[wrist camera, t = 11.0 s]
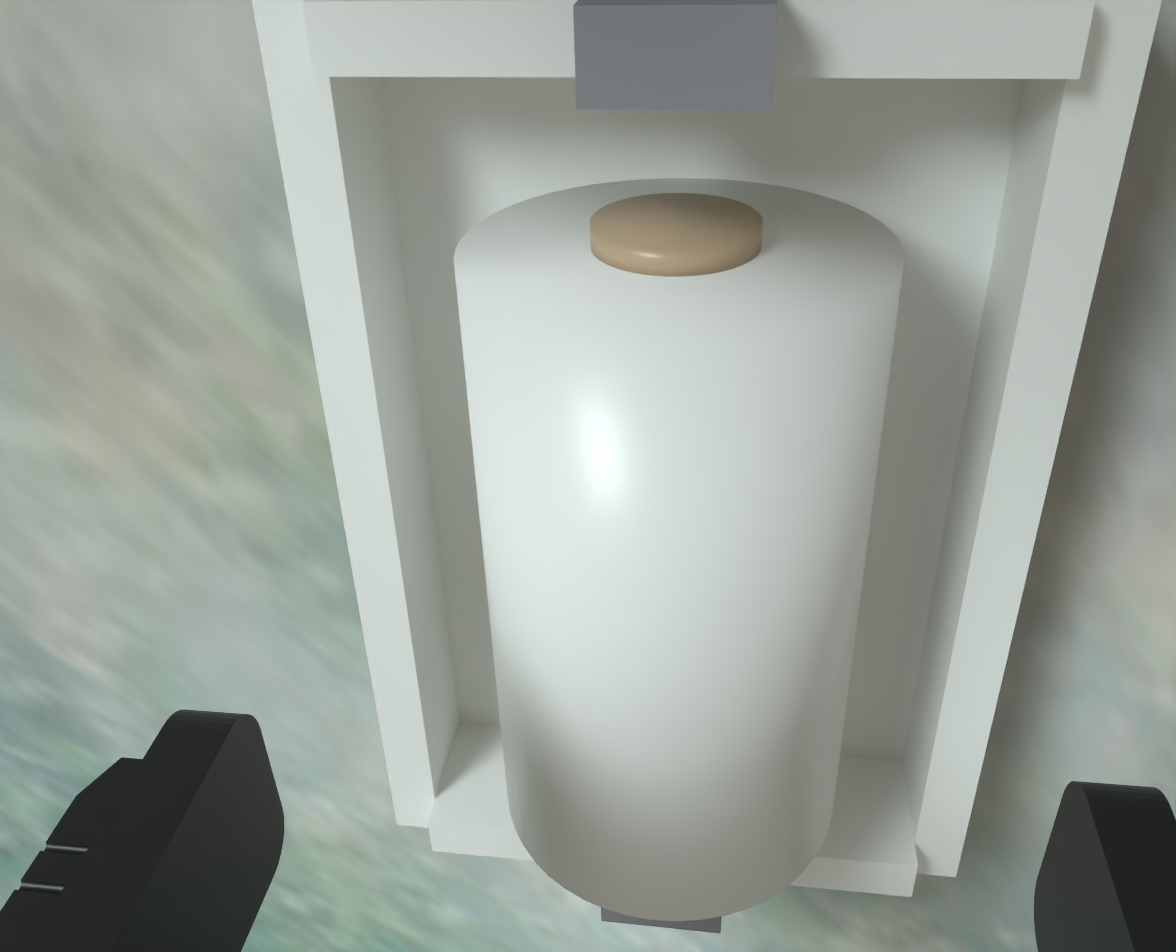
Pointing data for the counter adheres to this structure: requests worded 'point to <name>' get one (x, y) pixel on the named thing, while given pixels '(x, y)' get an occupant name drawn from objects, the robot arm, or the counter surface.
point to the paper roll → (675, 522)
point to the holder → (732, 152)
